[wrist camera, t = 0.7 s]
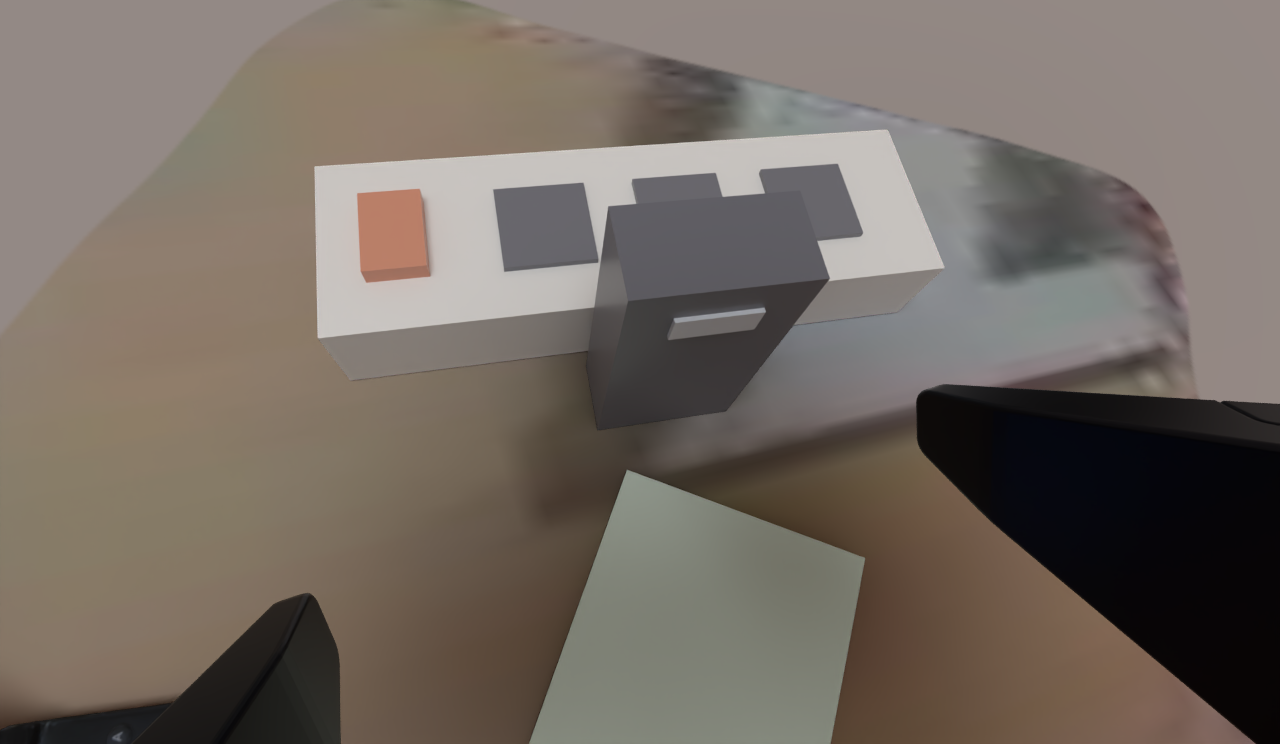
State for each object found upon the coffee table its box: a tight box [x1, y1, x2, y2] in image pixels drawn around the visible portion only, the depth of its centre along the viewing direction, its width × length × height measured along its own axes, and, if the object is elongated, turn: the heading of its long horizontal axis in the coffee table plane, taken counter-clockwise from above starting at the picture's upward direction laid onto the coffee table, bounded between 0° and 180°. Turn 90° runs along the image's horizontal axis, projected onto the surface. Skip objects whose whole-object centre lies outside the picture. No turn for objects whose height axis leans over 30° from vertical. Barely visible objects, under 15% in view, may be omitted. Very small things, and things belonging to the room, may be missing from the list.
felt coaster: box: [529, 470, 865, 744], centre depth 21 cm, size 9×9×1 cm
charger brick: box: [586, 191, 830, 430], centre depth 20 cm, size 3×5×10 cm, turn 101°
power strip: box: [315, 130, 945, 381], centre depth 25 cm, size 22×7×4 cm, turn 101°
